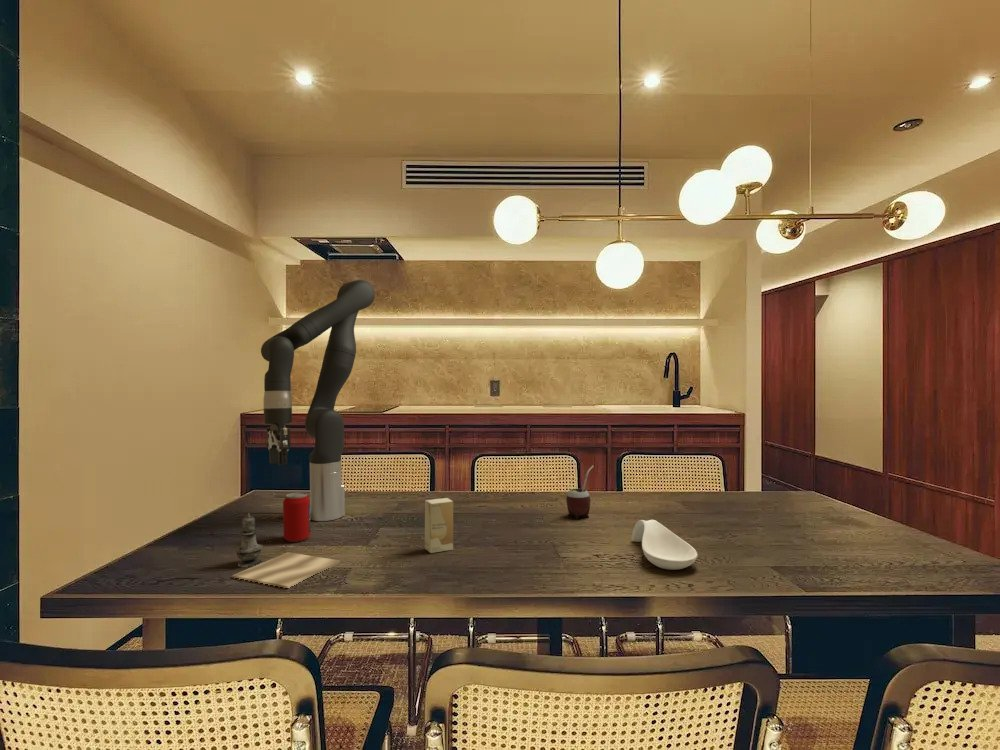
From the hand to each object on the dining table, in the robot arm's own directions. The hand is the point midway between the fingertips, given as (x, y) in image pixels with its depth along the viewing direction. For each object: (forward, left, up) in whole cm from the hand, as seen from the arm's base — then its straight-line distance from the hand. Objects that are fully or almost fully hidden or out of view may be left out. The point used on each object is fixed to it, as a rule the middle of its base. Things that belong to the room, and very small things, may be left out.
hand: (278, 464), depth 153 cm
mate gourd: (-66, +57, -19) cm, 89 cm away
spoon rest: (-50, +91, -19) cm, 105 cm away
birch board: (+13, +33, -19) cm, 40 cm away
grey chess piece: (+17, +22, -19) cm, 33 cm away
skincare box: (-19, +48, -19) cm, 55 cm away
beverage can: (+1, +13, -19) cm, 23 cm away
